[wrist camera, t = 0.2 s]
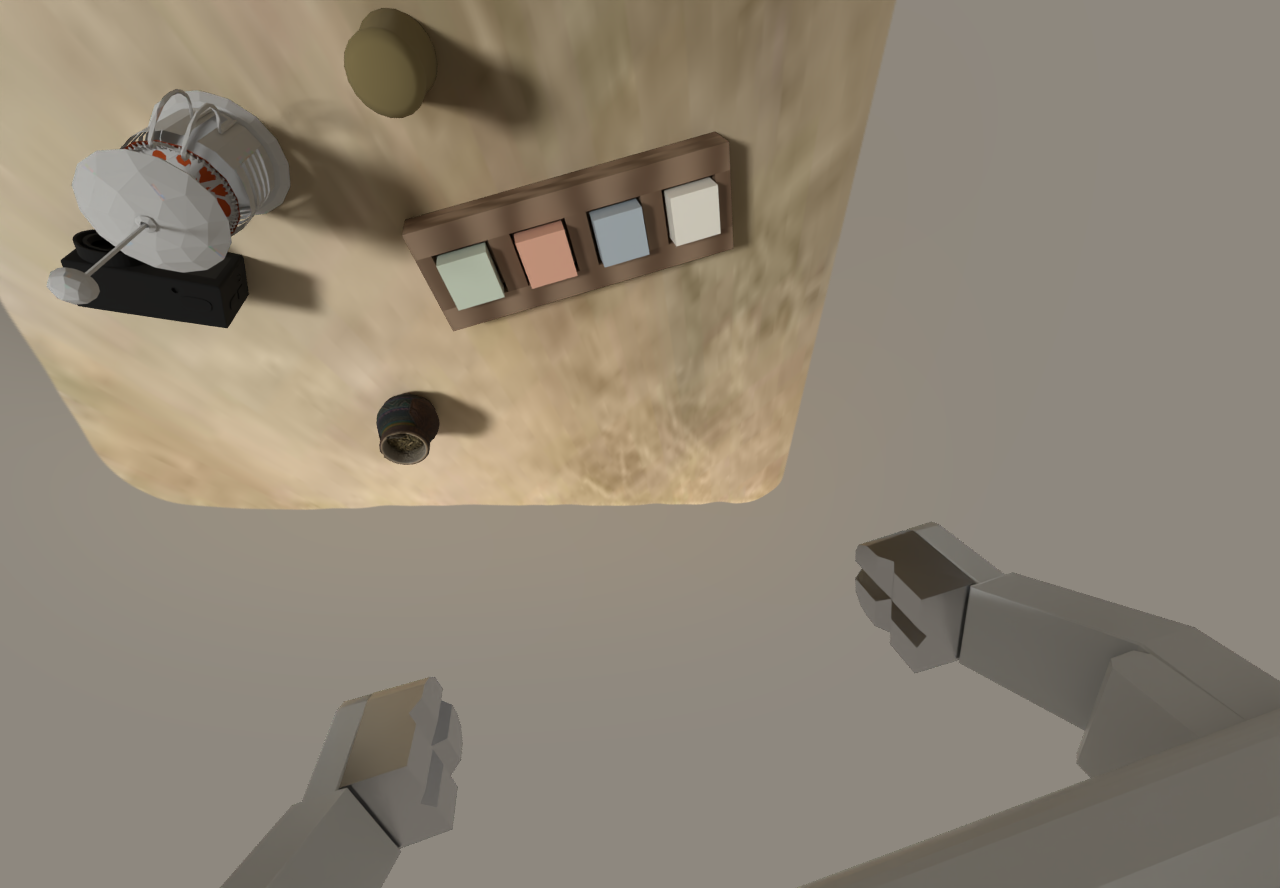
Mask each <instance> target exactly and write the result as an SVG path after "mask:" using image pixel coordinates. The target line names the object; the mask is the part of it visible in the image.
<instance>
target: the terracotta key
mask: <svg viewBox="0 0 1280 888" xmlns="http://www.w3.org/2000/svg"><path fill="white" fill-rule="evenodd" d="M514 239H515V244H516V247H517V249H518V252H519V255H520V257H521V260H522V263H523V266H524V268H525V271H526V274H527V276H528V279H529V282H530V284H531V287H532V289H534V288H537V287H541V286H544V285H548V284H551V283H554V282H558V281H561V280H565V279H568V278H571V277H575V276H578V275H577V272H576V268H575V265H574V261H573V258H572V254H571V251H570V248H569V244H568V241H567V237H566V234H565V230H564V227H563V225H562V222H561V220H559V221H555V222H552V223H549V224H545V225H542V226H538V227H535V228H531V229H528V230H524V231H521V232H517V233H514Z"/></svg>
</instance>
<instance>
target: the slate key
mask: <svg viewBox="0 0 1280 888" xmlns="http://www.w3.org/2000/svg"><path fill="white" fill-rule="evenodd" d="M589 214H590V218H591V222H592V226H593V230H594V234H595V238H596V242H597V246H598V250H599V254H600V258H601V260H602V262H603V265H604V267H609V266H612V265H615V264H619V263H622V262H626V261H629V260H632V259H636V258H639V257H643V256H646V255H649V248H648V242H647V236H646V230H645V224H644V218H643V213H642V207H641V205H640V204H639V203H638V201H637V200H636V198H635V199H632V200H628V201H625V202H621V203H618V204H614V205H611V206H607V207H604V208H600V209H597V210H594V211H590V212H589Z"/></svg>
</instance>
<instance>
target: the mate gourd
mask: <svg viewBox="0 0 1280 888" xmlns="http://www.w3.org/2000/svg"><path fill="white" fill-rule="evenodd" d="M376 423H377V429H378V433H379V438H380V452H381V453H383V455H384V458H387V459H388V460H390V461H392V462H394V463H397V464H404V465H410V464H416V463H419V462H421V461H422V460H424V459H425V458H426V457H427V455H428V454H429V449H430V442H431V441H432V440H433V439H434V438H435V436H436V434H437V432H438V429H439V418H438V415H437V413H436V410H435V408H434V406H433V405H432V403H431V402H429V401H428V400H427V399H425V398H423V397H420V396H416V395H411V394H401V395H397V396H394V397H392V398H390V399H388V400H387V401H386V402H385V404H384V405H383V406H382V408H381V409H380V411H379V413H378V415H377V422H376Z"/></svg>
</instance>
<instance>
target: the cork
mask: <svg viewBox="0 0 1280 888" xmlns="http://www.w3.org/2000/svg"><path fill="white" fill-rule="evenodd" d="M344 67H345V71H346V75H347V78H348V81H349V83H350V85H351V87H352V88H353V90H354V92H355V94H356V95H357V96H358V97H359V99H360V100H361V101H362V102H363V103H364V104H365V105H366V106H367V107H369V108H370V109H372V110H373V111H375V112H376V113H378V114H381V115H384V116H387V117H389V118H404V117H406V116H409V115H412V114H413V113H414V112H415V111H416V110H417V109H419V108H420V106H421V104H422V102H423V100H424V98H425V94H426V92H427V91H428V90H429V89H430V88H431V87H432V85H433V83H434V81H435V78H436V74H437V59H436V53H435V49H434V47H433V45H432V42H431V40H430V38H429V36H428V35H427V33H426V32H425V31H424V29H423V28H422V27H421V25H420V24H419V23H418V22H416V21H415V20H414V19H413V18H412V17H410V16H409V15H408V14H406V13H403V12H401V11H399V10H396V9H390V8H381V9H378V10H375V11H372V12H370V13H369V14H368V15H367V17H366V18H365V19H364V20H363V21H362V23H361V26H360V29H359V31H357V32H356V33H355V34H354V35H353V36H352V37H351V39H350V40H349V41H348V44H347V46H346V49H345V52H344Z"/></svg>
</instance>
